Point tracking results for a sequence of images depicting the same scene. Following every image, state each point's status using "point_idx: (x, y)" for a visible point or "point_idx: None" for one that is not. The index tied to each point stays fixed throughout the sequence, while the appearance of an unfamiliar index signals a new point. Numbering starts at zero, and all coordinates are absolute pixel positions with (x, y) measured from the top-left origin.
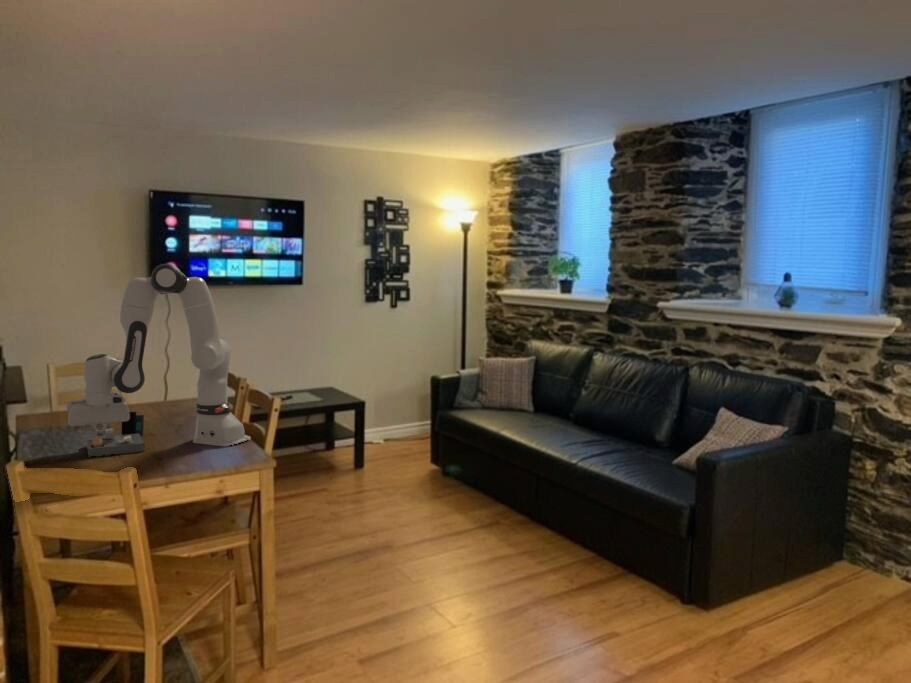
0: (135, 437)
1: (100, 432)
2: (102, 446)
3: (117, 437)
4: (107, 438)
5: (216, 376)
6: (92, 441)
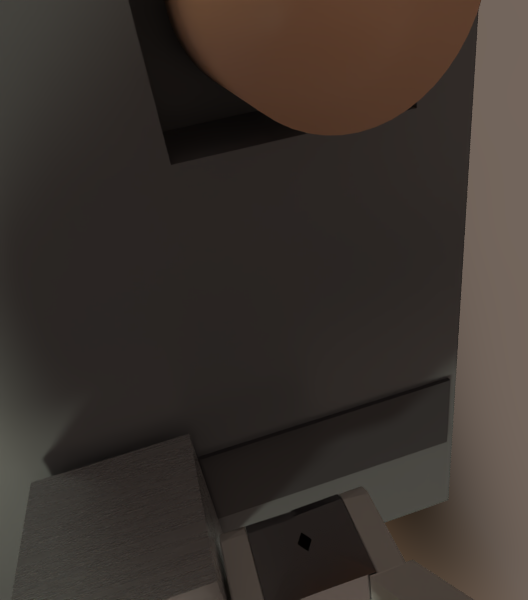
0: None
1: (305, 561)
2: (182, 146)
3: (14, 560)
4: (150, 455)
5: None
6: (380, 365)
